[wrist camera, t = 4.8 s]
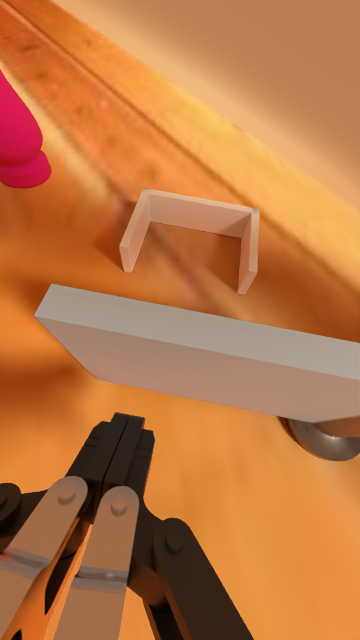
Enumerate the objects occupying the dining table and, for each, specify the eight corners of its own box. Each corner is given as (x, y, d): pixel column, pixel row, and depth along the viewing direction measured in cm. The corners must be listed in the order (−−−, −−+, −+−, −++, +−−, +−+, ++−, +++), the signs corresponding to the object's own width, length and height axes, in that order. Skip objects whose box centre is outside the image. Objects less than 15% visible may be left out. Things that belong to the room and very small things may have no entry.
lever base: (352, 387, 20) (359, 385, 20) (365, 468, 17) (374, 469, 17) (283, 373, 20) (287, 370, 20) (285, 451, 18) (290, 451, 17)
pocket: (248, 234, 28) (259, 209, 25) (245, 294, 24) (257, 272, 21) (145, 215, 28) (143, 187, 25) (124, 271, 24) (119, 246, 21)
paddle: (346, 399, 19) (546, 349, 9) (353, 441, 17) (599, 436, 8) (105, 351, 19) (49, 254, 9) (92, 388, 18) (9, 319, 8)
